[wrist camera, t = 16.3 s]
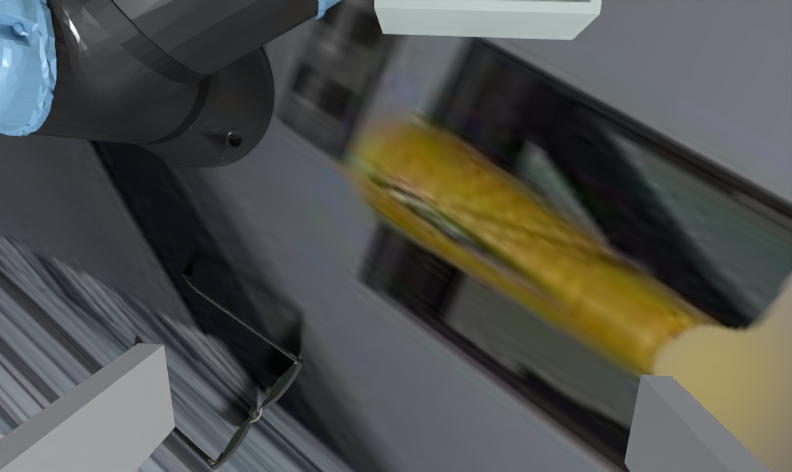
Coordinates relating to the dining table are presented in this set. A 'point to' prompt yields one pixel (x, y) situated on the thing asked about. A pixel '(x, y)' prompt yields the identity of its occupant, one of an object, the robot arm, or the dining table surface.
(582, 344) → the dining table surface
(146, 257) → the dining table surface
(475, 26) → the bin
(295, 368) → the sunglasses
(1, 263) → the dining table surface
